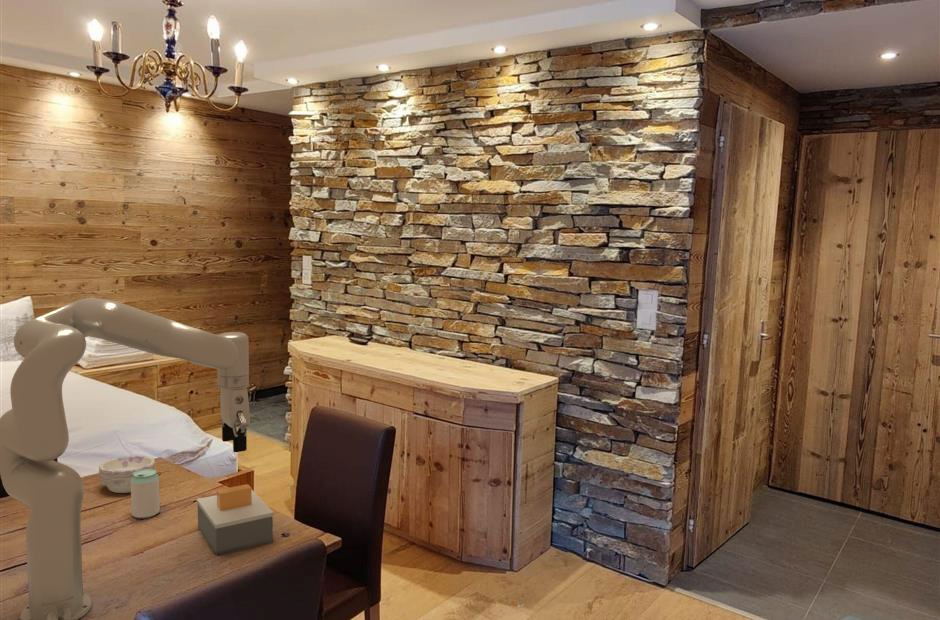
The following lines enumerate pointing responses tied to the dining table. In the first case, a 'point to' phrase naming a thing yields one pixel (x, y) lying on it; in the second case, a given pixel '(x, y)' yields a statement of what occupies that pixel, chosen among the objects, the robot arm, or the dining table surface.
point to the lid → (234, 506)
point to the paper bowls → (123, 472)
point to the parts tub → (235, 534)
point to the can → (145, 494)
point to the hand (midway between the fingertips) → (234, 445)
